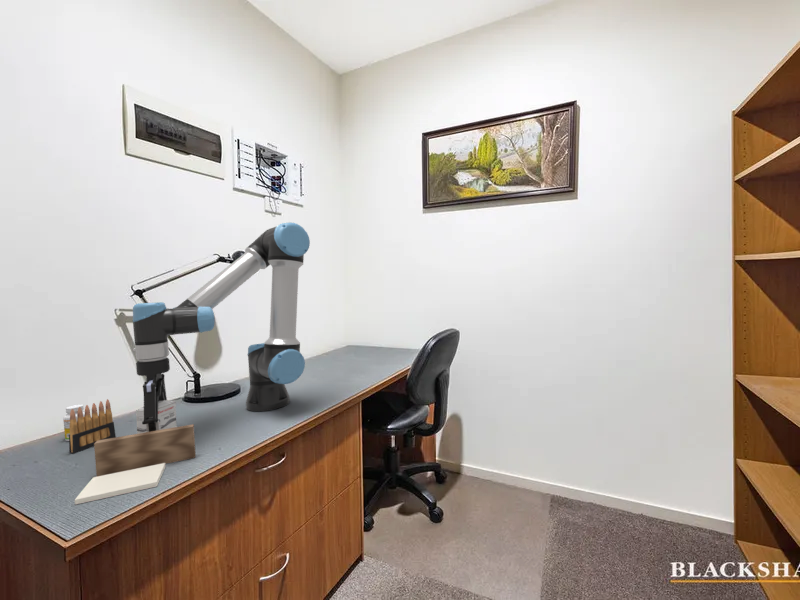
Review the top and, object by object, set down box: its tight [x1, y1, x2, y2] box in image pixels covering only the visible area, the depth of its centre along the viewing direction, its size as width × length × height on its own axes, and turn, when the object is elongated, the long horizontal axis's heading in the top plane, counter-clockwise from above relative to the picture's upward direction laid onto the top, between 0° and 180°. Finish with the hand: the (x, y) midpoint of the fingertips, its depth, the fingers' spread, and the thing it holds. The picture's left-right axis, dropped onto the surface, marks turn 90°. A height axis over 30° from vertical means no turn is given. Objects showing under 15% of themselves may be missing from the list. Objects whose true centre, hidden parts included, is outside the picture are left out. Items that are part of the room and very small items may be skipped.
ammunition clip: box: [68, 398, 117, 455], centre depth 104 cm, size 11×2×12 cm, turn 159°
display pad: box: [74, 463, 166, 506], centre depth 81 cm, size 14×10×1 cm
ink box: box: [135, 399, 178, 434], centre depth 100 cm, size 9×5×12 cm, turn 168°
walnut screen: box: [93, 424, 197, 477], centre depth 89 cm, size 20×2×8 cm, turn 114°
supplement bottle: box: [63, 404, 85, 442], centre depth 111 cm, size 5×5×10 cm
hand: (158, 439), depth 100 cm, fingers closed on ink box, 9 cm apart
